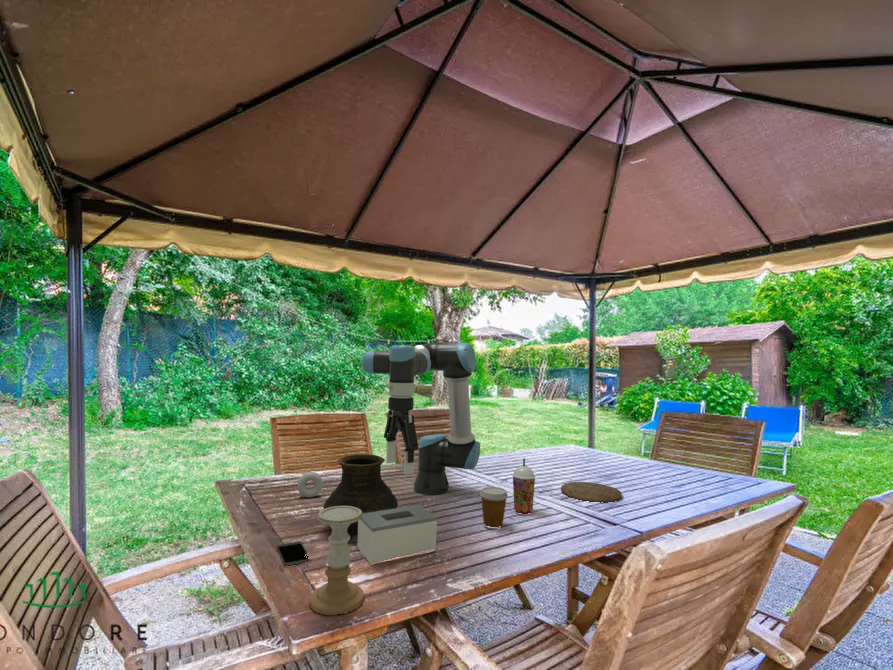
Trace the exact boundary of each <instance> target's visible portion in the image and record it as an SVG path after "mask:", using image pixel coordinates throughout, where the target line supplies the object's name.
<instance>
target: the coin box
mask: <svg viewBox="0 0 893 670" xmlns="http://www.w3.org/2000/svg"><path fill="white" fill-rule="evenodd" d="M437 518H438V517H437V515H435V514H433V513H431V512H430V511H429V510H427V509H426V508H425V507H423V506H422V505H420V504H415V505H410V506H404V507H397V508H395V509H389V510H382V511H376V512H369V513H363V516H362V518H361V519H360V520H359V521H358V532H357V544H356V545H357V546H356V548H357V547H358V549H359V550H360V551H361V552H362V553H363V555H364V556H365V557H366V558H367V559H368V561H369V562H370V563H371V564H373V563H377V562H380V561H384V560H388V559H392V558H396V557H401V556H405V555H410V554H414V553H418V552H421V551H426V550H431V549H436V550H437V529H438V528H437V521H438V520H437ZM358 549H357V550H358ZM359 550H358V551H359ZM360 551H359V552H360ZM363 555H362V556H363ZM364 556H363V557H364ZM365 557H364V558H365ZM368 561H367V562H368ZM369 562H368V563H369Z"/></svg>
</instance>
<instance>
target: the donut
mask: <svg viewBox="0 0 893 670" xmlns="http://www.w3.org/2000/svg"><path fill="white" fill-rule="evenodd" d="M310 481H312V482H314V485H313V486H312V487H311V488H308V487H307V483H308V482H310ZM296 486H297V487H296V488H297V491H298V492H299V494H300V495H301V496H302V497H305V498H313V497H316V496H317V495H319V494H320V493H321V491H322V489H323V487H324V480H323V477H322V476H321V474H319V472H315V471H308V472H305V473H303V474H302V475H301V476H300V477H299V479H298V480H297V484H296Z"/></svg>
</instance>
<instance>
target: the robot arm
mask: <svg viewBox="0 0 893 670" xmlns="http://www.w3.org/2000/svg"><path fill="white" fill-rule="evenodd" d="M476 358H477V357H476V351H475V350H474V347H473V346H472V345H471V344H470V343H468V342H459V341H458V342H457V341H456V342H451V341H450V342H437V341H436V342H429V343H423V344H417V345H414V346H413V345H404V344H403V345H398V344H397V345H396V344H395V345H392V346H390V348H389V350H377V351H376V350H369V351H366V352H365V353H363V356H362V359H361V363H362V364H361V365H362V369H363V371H364V372H365V373H367V374H372V375H378V374H379V375H388V376H389V378H388V379H389V381H388V386H387V389H388V395H389V397H388V406H387V407H388V411H387V412H388V413H387V421H386V425H385V429H384V433H383V438H384V439H385V440H386V458H385V461H386V464H393V463H394V464H395V463H396V453H397V452H396V447H397V445H396V444H397V438H396V437H397V435H398V432H399V431H400V433H401V436H402V440H403V443H404V447H405V448H404V450H403V452H404V455H403V456H404V461H403V462H404V464H403V465H404V467H403V475H411V474H412V475H413V474H414V473H415V451H417V450H418V466H417V467H418V468H417V469H418V471H417V474H416V477H415V480H414V483H413V491H415V492H416V493H418V494H424V495H440V494H441V495H442V494H445V493H447V492H449V490H450V488H449V487H450V484H449V481H448V477H447V474H446V473H447V472H446V468H454V469H462V470H474V469H475V468H476V467H477V465H478V464H479V460H480V455H481V442H479V441H478V440H476V435H475V434H474V433H473V432H472V422H471V420H472V419H471V407H470V406H471V405H470V401H471V400H470V388H469V379H470V377H472V373H473V372H474V371H475V370H476V365H477V364H476V363H477V359H476ZM429 371H438V372H439V371H441V372H442V374H443V378H444V379H446V381H447V394H448V395H447V396H448V397H447V398H448V410H449V411H448V412H449V423H450V434H449V435H447V436H446V434H443V433H440V434H439V433H437V434H428V435H424V436H422V437H420V439H419V441H418V438H417V432H416V431H417V430H416V426H415V416H414V415H412V414H411V415H410V414H409V413H410V411H413V410H414V406H415V405H414V401H415V400H414V397H413V396H415V376H423V375H425V374H427V373H428V372H429Z"/></svg>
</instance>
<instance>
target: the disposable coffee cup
mask: <svg viewBox="0 0 893 670" xmlns="http://www.w3.org/2000/svg"><path fill="white" fill-rule="evenodd" d="M479 495H480V498H481V507H482V509H481V511H482V518H483V525H484V524H485V525H486V526H490V527H499V526H502V525H504V517H505V512H506V505H507V504H506V503H507V499H508V495H509V494H508V492H507V490H506V489H504V488H502V487H499V486H498V487H496V486H486V487H483V488H481V490H480V493H479ZM502 527H503V526H502Z"/></svg>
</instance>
